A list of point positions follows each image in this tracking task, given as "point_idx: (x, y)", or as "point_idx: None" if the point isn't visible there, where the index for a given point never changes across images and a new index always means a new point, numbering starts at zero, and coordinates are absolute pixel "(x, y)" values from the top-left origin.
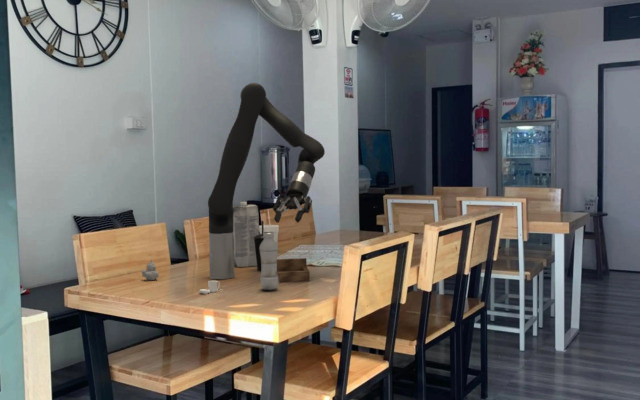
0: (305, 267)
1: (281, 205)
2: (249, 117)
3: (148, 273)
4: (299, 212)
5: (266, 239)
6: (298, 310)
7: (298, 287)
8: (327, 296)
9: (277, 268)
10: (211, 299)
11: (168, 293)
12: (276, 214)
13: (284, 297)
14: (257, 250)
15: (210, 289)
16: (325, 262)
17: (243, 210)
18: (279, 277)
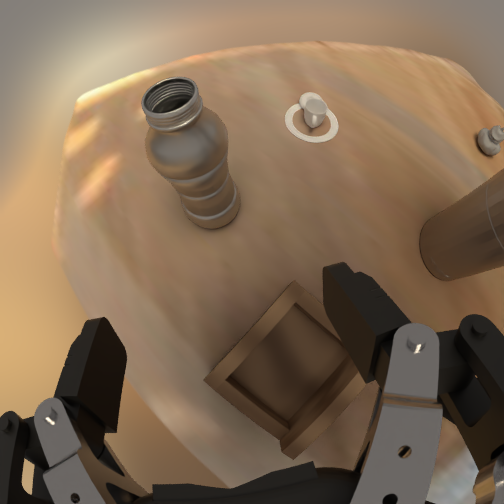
0: (269, 426)
1: (412, 404)
2: None
3: (483, 129)
4: (69, 393)
5: (172, 102)
6: (66, 140)
7: (172, 283)
8: (65, 247)
9: (349, 364)
10: (250, 85)
11: (360, 80)
12: (370, 295)
13: (131, 179)
14: (477, 379)
15: (309, 110)
16: None
17: None
18: (273, 303)
